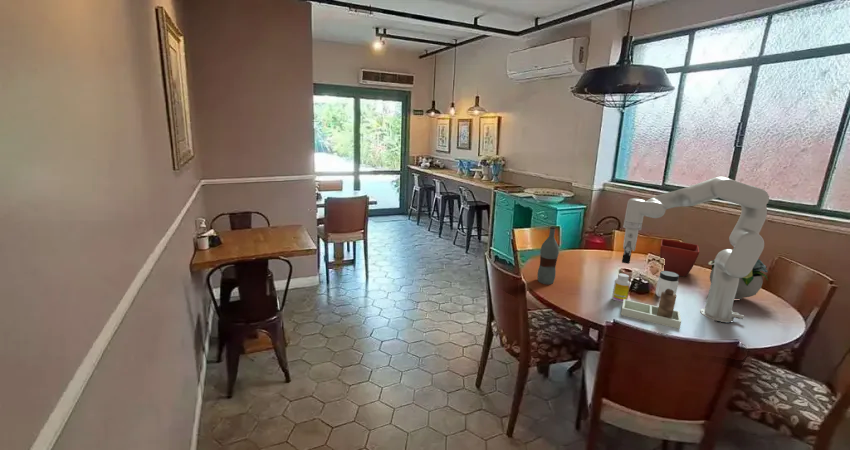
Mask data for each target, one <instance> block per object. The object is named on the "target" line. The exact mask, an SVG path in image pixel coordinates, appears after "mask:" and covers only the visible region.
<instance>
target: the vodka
mask: <svg viewBox="0 0 850 450" xmlns="http://www.w3.org/2000/svg"><path fill="white" fill-rule="evenodd" d="M555 233H556V226H554V225H550V226H549V233H548V234H549V235H548V237H547V238H546V239H545V240H544V241H543V243H541V247H540V252H539V254H540V255H539V266H538V270H537V282H539V283H540V284H543V285H553V284H554V282H555V279H556V272H557V271H556V266H557V261H558V259H559V258H558V256H559V253H560V249H559V248H560V247H559V245H558V242H557V240H556V239H555V238H556V237H555Z"/></svg>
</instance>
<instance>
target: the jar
mask: <svg viewBox="0 0 850 450" xmlns="http://www.w3.org/2000/svg"><path fill="white" fill-rule="evenodd" d="M679 279H680V276H679V275H678V274H676V273H673V272H669V271H661V270H660V272H659V275H658V278H657V283H656V289H655V294H656V296H657V297H658V298H661V293H662V292H664V291H665V290H666V289H672V290H673V291H674V294H676V295H677V290H678V286H679Z"/></svg>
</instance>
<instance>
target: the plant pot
mask: <svg viewBox="0 0 850 450" xmlns="http://www.w3.org/2000/svg"><path fill="white" fill-rule="evenodd" d="M659 253H660V254H659V259H660V258H664V259H665V265H664V271H669V272H673V273H676V274H678V275H679V277H683V276H684V278H686V277H687V276H688V275H689V273H690V272H691V270H692V269H693V267H694V266H695V263H697V259H698V257H699V255H700V248H699V245H698V244H696V243H695V244H694V243H687V242H682V241H676V240H671V239H665V238H662V239H661V243H660V252H659Z"/></svg>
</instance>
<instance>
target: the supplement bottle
mask: <svg viewBox="0 0 850 450" xmlns="http://www.w3.org/2000/svg"><path fill="white" fill-rule="evenodd" d="M617 275H618V276H617V278H615V280H614V285H613V289H612V296H611V299H612V300H613V301H617V302H623V300H624V299H626V300H628V297H629V290H630V285H631V282H630V281H629V278H630V276H629V275H628V274H626V273H617Z"/></svg>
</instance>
